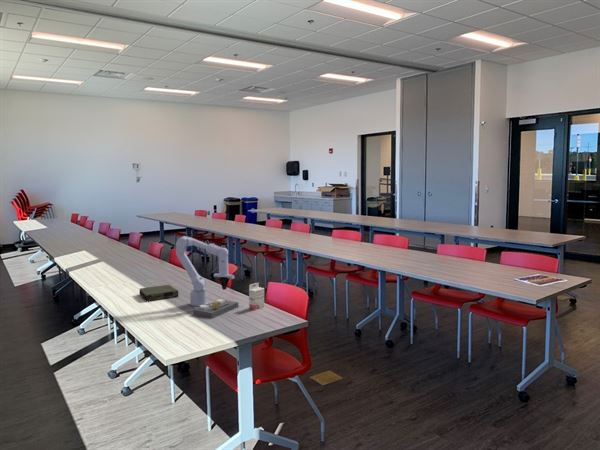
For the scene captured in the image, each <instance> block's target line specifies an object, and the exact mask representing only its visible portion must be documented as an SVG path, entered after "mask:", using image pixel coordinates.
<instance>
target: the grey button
mask: <svg viewBox="0 0 600 450" xmlns="http://www.w3.org/2000/svg"><path fill="white" fill-rule="evenodd" d="M198 308H200V309H202V310H206V309H209V306H208V305H203V306H198Z"/></svg>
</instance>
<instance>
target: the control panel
mask: <svg viewBox="0 0 600 450" xmlns="http://www.w3.org/2000/svg"><path fill="white" fill-rule="evenodd" d="M224 300H225V302H224V303H221V304H220V308H218V309H212V307H211V306H209V309H206V310H202V309H200V308H199V307H197V308H195V309H193V311H192V312H193V316H196V317H197V316H199V317H204V318H208V319H213V318H217V317H218V316H222V315H223V313H224V314H226V313H228V312H230V311H234V310H235V309H237V308H238V309H239V302H238V301H231V300H226V299H224ZM211 303H212V302H209V304H211ZM209 304H207V305H209Z"/></svg>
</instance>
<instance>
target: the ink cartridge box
mask: <svg viewBox="0 0 600 450" xmlns="http://www.w3.org/2000/svg"><path fill="white" fill-rule="evenodd" d="M259 284H260V283H259V282H255V283H251V284H249V285H248V286H249V288H248V305H249V306H248V307H249V309H250V310H254V311H256V310H259V309H262V308H265V287H261V286H260V285H259Z"/></svg>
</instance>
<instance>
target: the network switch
mask: <svg viewBox="0 0 600 450" xmlns="http://www.w3.org/2000/svg"><path fill="white" fill-rule="evenodd" d="M139 296H141V297H142V299H143V300H144V301H145V300H146V302H147V301H148V302H150V301H155V300H163V299H164V300H165V299H169V298H175V297H179V290H178V289H176V288H175V287H173V286H171V284H164V285H156V286H148V287H141V288H139Z"/></svg>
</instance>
